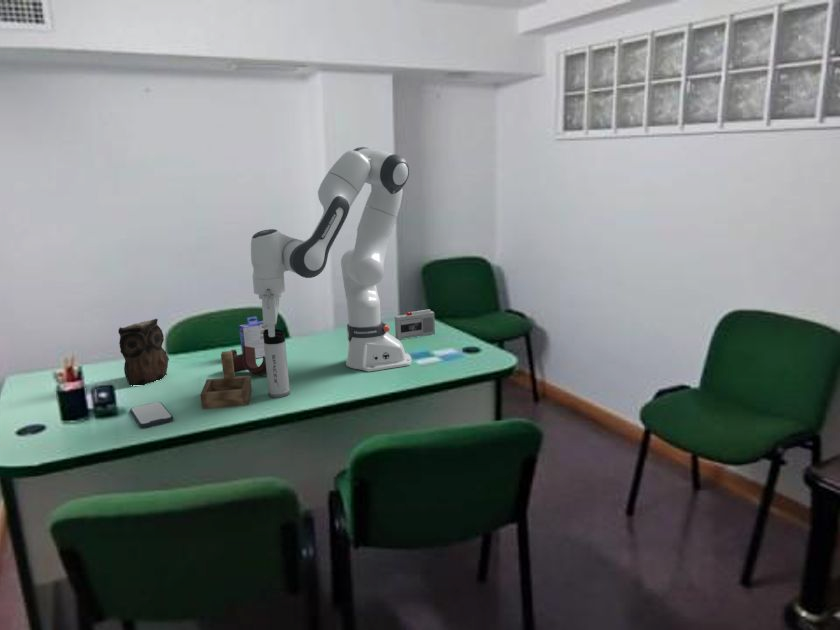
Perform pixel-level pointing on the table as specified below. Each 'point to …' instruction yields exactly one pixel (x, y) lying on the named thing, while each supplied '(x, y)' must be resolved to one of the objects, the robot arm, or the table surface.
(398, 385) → the table surface
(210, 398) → the wooden caddy
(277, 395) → the travel mug
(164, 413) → the phone case
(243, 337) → the ink cartridge box
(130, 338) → the owl
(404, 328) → the cassette player
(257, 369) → the bracket
